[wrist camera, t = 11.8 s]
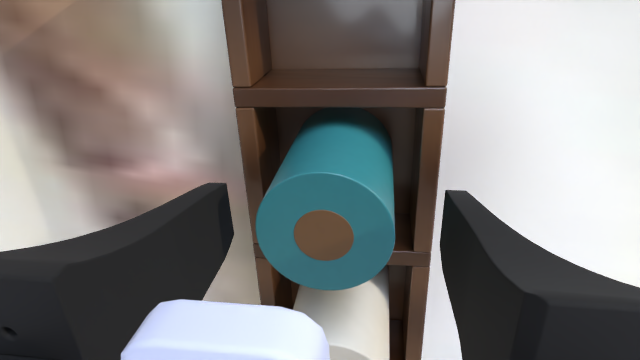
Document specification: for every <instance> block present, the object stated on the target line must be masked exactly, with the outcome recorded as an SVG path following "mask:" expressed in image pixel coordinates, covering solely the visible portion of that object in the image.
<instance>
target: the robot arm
mask: <svg viewBox="0 0 640 360" xmlns="http://www.w3.org/2000/svg"><path fill="white" fill-rule="evenodd" d="M233 236H234V230H233V224H232V217H231V211H230V204H229V198H228V191H227V184H226V183H207V184H204V185H202V186H200V187H197V188H195V189H193V190H191V191H189V192H187V193H185V194H183V195H181V196H179V197H177V198H175V199H173V200H171V201H169V202H167V203H165V204H163V205H161V206H159V207H157V208H155V209H153V210H151V211H148V212H146V213H144V214H142V215H140V216H138V217H135V218H133V219H130V220H128V221H125V222H123V223H120V224H117V225H115V226H112V227H109V228H106V229H103V230H100V231H96V232H93V233H90V234H86V235H83V236H79V237H76V238H72V239H68V240H64V241H60V242H55V243H50V244H46V245H41V246H35V247H30V248H23V249H17V250H10V251H3V252H0V360H330V355H329V344H328V341H327V339H326V336H325V334H324V331H323V329H322V327H321V326H319V325H318V324H317V323H316V322H314V321H313V320H312V319H311V318H309V317H308V316H307V315H306V314H304V313H302V312H298V311H295V310H291V309H287V308H284V307H279V306H265V305H252V304H238V303H225V302H211V301H202V299H203V297H204V295H205V294H206V292H207V290H208V288H209V287H210V285H211V283H212V281H213V280H214V278H215V276H216V274H217V272H218V271H219V269H220V267H221V265H222V263H223V261H224V260H225V258H226V255H227V253H228V250H229V247H230V245H231V242H232V239H233ZM440 251H441V261H442V269H443V274H444V278H445V282H446V286H447V290H448V294H449V298H450V302H451V306H452V309H453V313H454V317H455V321H456V325H457V329H458V334H459V339H460V344H461V352H462V359H463V360H640V288H639V287H636V286H632V285H629V284H625V283H622V282H619V281H616V280H613V279H611V278H608V277H605V276H602V275H600V274H597V273H594V272H592V271H589V270H587V269H585V268H582V267H580V266H577V265H575V264H573V263H571V262H569V261H567V260H565V259H562V258H560V257H558V256H556V255H554V254H552V253H550V252H549V251H547V250H545V249H543V248H542V247H540V246H538V245H536V244H535V243H533V242H531V241H530V240H528V239H526V238H525V237H523V236H522V235H520V234H519V233H518V232H516V231H515V230H513V229H512V228H510V227H509V226H508V225H506V224H505V223H504V222H502V221H501V220H500V219H499V218H497V217H496V216H495V215H494V214H493V213H491V212H490V211H489V210H488V209H487V208H485V207H484V206H483V205H482V204H481V203H480V202H479V201H477V200H476V199H475V198H474V197H473V196H472V195H470V194H469V193H468V192H467V191H457V190H445V200H444V209H443V219H442V228H441V238H440Z"/></svg>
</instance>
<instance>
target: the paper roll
mask: <svg viewBox="0 0 640 360" xmlns="http://www.w3.org/2000/svg"><path fill="white" fill-rule="evenodd" d="M255 230H256V236H257V241H258V244H259V246H260V249H261V251H262V253H263V254H264V256H265V257H266V259H267V260H268V262H269V263H270V264H271V265H272V266H273V267H274V268H275V269H276V270H277V271H278V272H279V273H281V274H282V275H284V276H285V277H286V278H288V279H290V280H292V281H293V282H296V283H298V284H300V285H303V286H306V287H309V288H313V289H318V290H333V291H335V290H344V289H349V288H353V287H356V286H359V285H361V284H363V283H365V282H367V281H369V280H370V279H372V278H373V277H375V276H376V275H377V274H378V273H379V272H380V271H381V270H382V269H383V268H384V267H385V265H386V264H387V262H388V261H389V259H390V257H391V255H392V252H393V249H394V244H395V215H394V185H393V155H392V143H391V139H390V136H389V134H388V132H387V130H386V128H385V127H384V125H383V124H382V123H381V122H380V121H379V120H378V119H377V118H376V117H375V116H374V115H372V114H371V113H369V112H368V111H366V110H363V109H361V108H324V109H322V110H320V111H318V112H316V113H315V114H313V115H312V116H311V117H309V118H308V119H307V120H306V122H305V123H304V124H303V126H302V127H301V129H300V131H299V132H298V134H297V136H296V138H295V140H294V142H293V144H292V146H291V147H290V149H289V151H288V153H287V155H286V157H285V159H284V160H283V162H282V164H281V166H280V168H279V170H278V172H277V173H276V175H275V177H274V179H273V181H272V183H271V185H270V187H269V188H268V190H267V192H266V194H265V196H264V198H263V200H262V201H261V204H260V206H259V208H258V211H257V215H256V222H255Z"/></svg>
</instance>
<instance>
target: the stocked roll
mask: <svg viewBox="0 0 640 360" xmlns="http://www.w3.org/2000/svg"><path fill="white" fill-rule="evenodd" d="M293 310H295V311H298V312H302V313H304V314H306V315H307V316H308V317H309V318H311V319H312V320H313V321H314V322H316V323H317V324H318V325H319V326H321V327H322V329H323V331H324V334H325V336H326V339H327V341H328V344H329V355H330V360H389V271H388V266H387V265H385V267H384V268H383V269H382V270H381V271H380V272H379V273H378V274H377V275H376V276H375V277H373V278H372V279H370V280H369V281H367V282H365V283H363V284H361V285H359V286H356V287H353V288H349V289H344V290H335V291H333V290H318V289H313V288H309V287H306V286H303V285H300V286H299V289H298V293H297V297H296V300H295V304H294V307H293Z"/></svg>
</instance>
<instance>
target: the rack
mask: <svg viewBox="0 0 640 360" xmlns="http://www.w3.org/2000/svg"><path fill="white" fill-rule="evenodd" d="M221 2H222V9H223V17H224V24H225V32H226V40H227V47H228V55H229V63H230V70H231V78H232V85H233V87H234V88H233V95H234V102H235V107H236V117H237V124H238V132H239V139H240V147H241V155H242V162H243V170H244V178H245V185H246V193H247V200H248V208H249V216H250V223H251V231H252V239H253V247H254V255H255V262H256V269H257V277H258V285H259V292H260V300H261V305H265V306H279V307H284V308H287V309H291V310H293V307H294V304H295V300H296V297H297V293H298V289H299V286H300V284H298V283H296V282H293V281H292V280H290V279H288V278H286V277H285V276H284V275H282V274H281V273H279V272H278V271H277V270H276V269H275V268H274V267H273V266H272V265H271V264H270V263H269V262H268V260H267V259H266V257H265V256H264V254H263V253H262V251H261V249H260V246H259V244H258V241H257V236H256V230H255V222H256V215H257V211H258V208H259V206H260V204H261V201H262V200H263V198H264V196H265V194H266V192H267V190H268V188H269V187H270V185H271V183H272V181H273V179H274V177H275V175H276V173H277V172H278V170H279V168H280V166H281V164H282V162H283V160H284V159H285V157H286V155H287V153H288V151H289V149H290V147H291V146H292V144H293V142H294V140H295V138H296V136H297V134H298V132H299V131H300V129H301V127H302V126H303V124H304V123H305V122H306V120H307V119H308V118H309V117H311V116H312V115H313V114H315V113H316V112H318V111H320V110H322V109H324V108H361V109H363V110H366V111H368V112H369V113H371V114H372V115H374V116H375V117H376V118H377V119H378V120H379V121H380V122H381V123H382V124H383V125H384V127H385V128H386V130H387V132H388V134H389V136H390V139H391V143H392V155H393V185H394V215H395V244H394V249H393V252H392V255H391V257H390V259H389V261H388V262H387V264H386V265H387V266H388V271H389V360H421V354H422V344H423V333H424V323H425V312H426V302H427V292H428V281H429V271H430V260H431V249H432V239H433V228H434V218H435V208H436V197H437V187H438V176H439V166H440V155H441V145H442V135H443V124H444V114H445V109H444V107H445V103H446V93H447V88H446V86H447V82H448V71H449V61H450V50H451V40H452V30H453V19H454V9H455V0H221Z"/></svg>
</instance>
